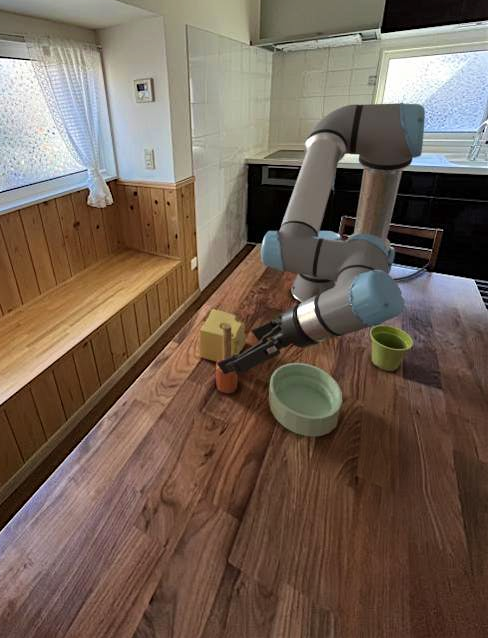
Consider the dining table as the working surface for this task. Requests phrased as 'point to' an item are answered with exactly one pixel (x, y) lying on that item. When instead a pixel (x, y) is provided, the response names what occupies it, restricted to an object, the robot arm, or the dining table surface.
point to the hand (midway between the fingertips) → (239, 350)
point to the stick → (226, 341)
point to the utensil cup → (226, 380)
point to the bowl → (305, 399)
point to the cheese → (220, 335)
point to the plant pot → (389, 346)
